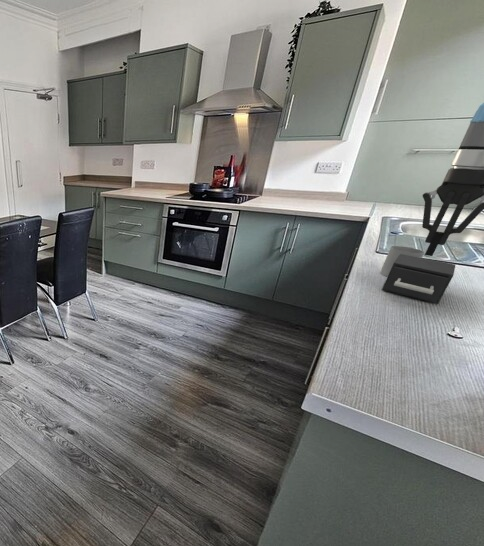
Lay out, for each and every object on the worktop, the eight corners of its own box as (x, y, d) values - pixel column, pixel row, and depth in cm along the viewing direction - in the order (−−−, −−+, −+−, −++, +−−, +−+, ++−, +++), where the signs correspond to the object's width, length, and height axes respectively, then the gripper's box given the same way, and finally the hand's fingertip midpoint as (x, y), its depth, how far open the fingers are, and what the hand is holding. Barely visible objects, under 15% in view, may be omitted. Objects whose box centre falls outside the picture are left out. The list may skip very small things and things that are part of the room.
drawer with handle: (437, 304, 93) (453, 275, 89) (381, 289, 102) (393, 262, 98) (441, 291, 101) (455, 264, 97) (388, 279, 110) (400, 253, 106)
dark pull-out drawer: (434, 308, 88) (447, 284, 85) (381, 294, 96) (391, 271, 93) (439, 291, 99) (450, 268, 96) (390, 279, 107) (400, 258, 104)
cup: (408, 282, 108) (421, 255, 104) (377, 274, 114) (388, 248, 110) (413, 276, 112) (426, 250, 108) (383, 269, 118) (394, 244, 115)
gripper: (512, 169, 77) (463, 258, 86) (435, 165, 86) (399, 246, 96) (514, 170, 73) (462, 264, 82) (433, 166, 82) (395, 251, 91)
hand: (428, 254), depth 89 cm, fingers closed
